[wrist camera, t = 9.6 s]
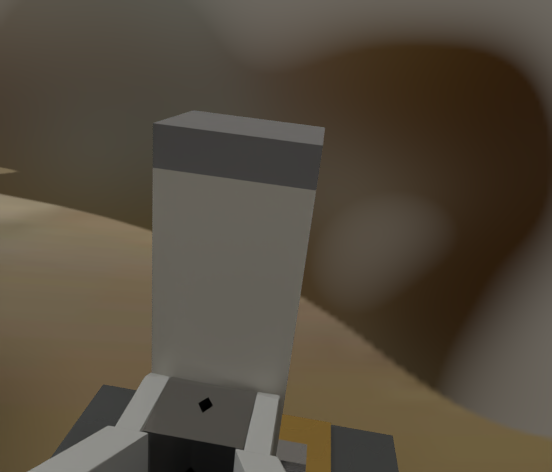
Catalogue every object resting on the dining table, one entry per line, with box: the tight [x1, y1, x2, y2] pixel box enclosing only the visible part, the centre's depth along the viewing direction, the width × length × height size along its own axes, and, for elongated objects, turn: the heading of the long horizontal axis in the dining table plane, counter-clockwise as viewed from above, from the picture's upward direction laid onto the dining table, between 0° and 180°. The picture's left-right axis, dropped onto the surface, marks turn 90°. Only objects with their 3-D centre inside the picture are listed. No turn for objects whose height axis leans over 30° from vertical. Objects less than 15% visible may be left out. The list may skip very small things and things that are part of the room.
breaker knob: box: [152, 111, 325, 456], centre depth 11 cm, size 2×3×12 cm
